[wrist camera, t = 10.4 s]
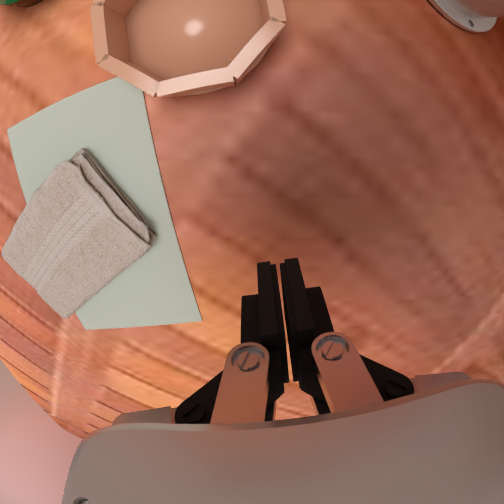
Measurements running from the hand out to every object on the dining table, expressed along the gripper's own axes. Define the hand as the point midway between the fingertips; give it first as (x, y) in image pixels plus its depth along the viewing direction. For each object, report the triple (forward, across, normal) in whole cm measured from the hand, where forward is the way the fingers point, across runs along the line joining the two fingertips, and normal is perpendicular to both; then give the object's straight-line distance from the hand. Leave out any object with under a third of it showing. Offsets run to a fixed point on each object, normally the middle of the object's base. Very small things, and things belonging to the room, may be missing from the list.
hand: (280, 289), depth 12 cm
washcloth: (+14, +20, +2) cm, 24 cm away
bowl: (+15, +4, -15) cm, 21 cm away
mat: (+14, +17, +1) cm, 22 cm away
